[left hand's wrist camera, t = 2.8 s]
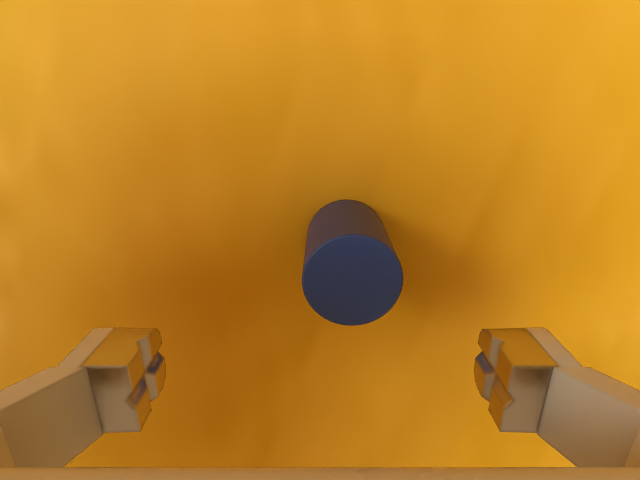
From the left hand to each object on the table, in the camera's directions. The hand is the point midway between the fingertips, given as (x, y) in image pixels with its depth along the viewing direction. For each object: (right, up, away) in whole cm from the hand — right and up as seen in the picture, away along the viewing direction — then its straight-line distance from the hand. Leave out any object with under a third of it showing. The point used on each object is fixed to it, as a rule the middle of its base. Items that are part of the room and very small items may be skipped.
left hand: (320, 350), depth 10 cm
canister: (+1, +3, +8) cm, 8 cm away
